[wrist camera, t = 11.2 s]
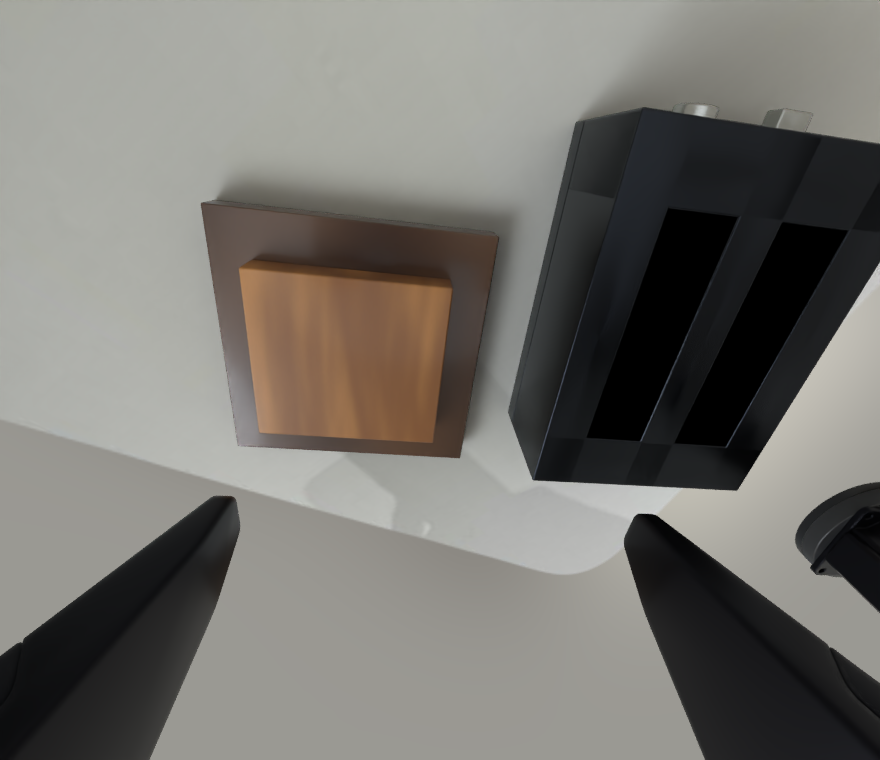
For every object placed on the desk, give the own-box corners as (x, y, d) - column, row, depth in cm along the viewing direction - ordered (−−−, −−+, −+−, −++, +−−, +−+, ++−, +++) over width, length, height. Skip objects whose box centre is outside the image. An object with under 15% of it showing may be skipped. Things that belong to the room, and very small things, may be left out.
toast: (453, 288, 17) (237, 266, 16) (433, 443, 20) (258, 433, 20) (451, 279, 18) (250, 259, 17) (432, 427, 22) (267, 417, 21)
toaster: (812, 127, 17) (973, 114, 12) (672, 423, 24) (737, 491, 19) (582, 91, 16) (656, 62, 11) (507, 412, 23) (532, 480, 18)
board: (494, 231, 18) (499, 236, 17) (458, 445, 24) (460, 458, 23) (213, 199, 17) (200, 202, 16) (245, 432, 23) (237, 446, 22)
